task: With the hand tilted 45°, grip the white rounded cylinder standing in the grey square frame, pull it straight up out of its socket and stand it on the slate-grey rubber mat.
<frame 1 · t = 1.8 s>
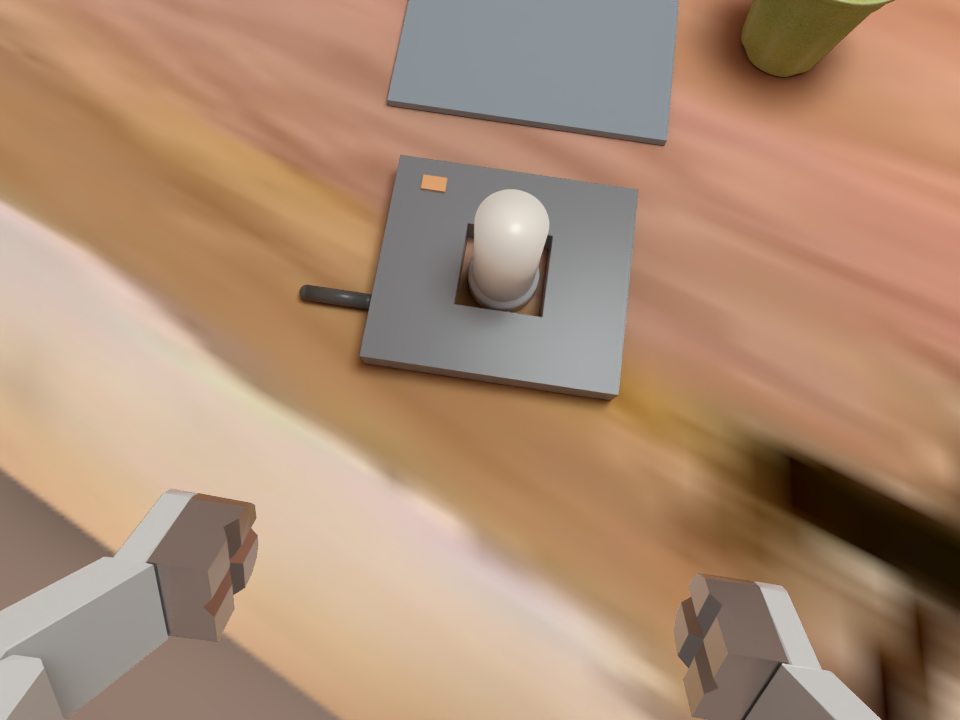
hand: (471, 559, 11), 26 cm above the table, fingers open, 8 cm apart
plant pot: (778, 46, 45), on the table
grey square frame: (502, 280, 40), on the table
rubber mat: (536, 55, 44), on the table
white rounded cylinder: (502, 280, 40), resting in grey square frame
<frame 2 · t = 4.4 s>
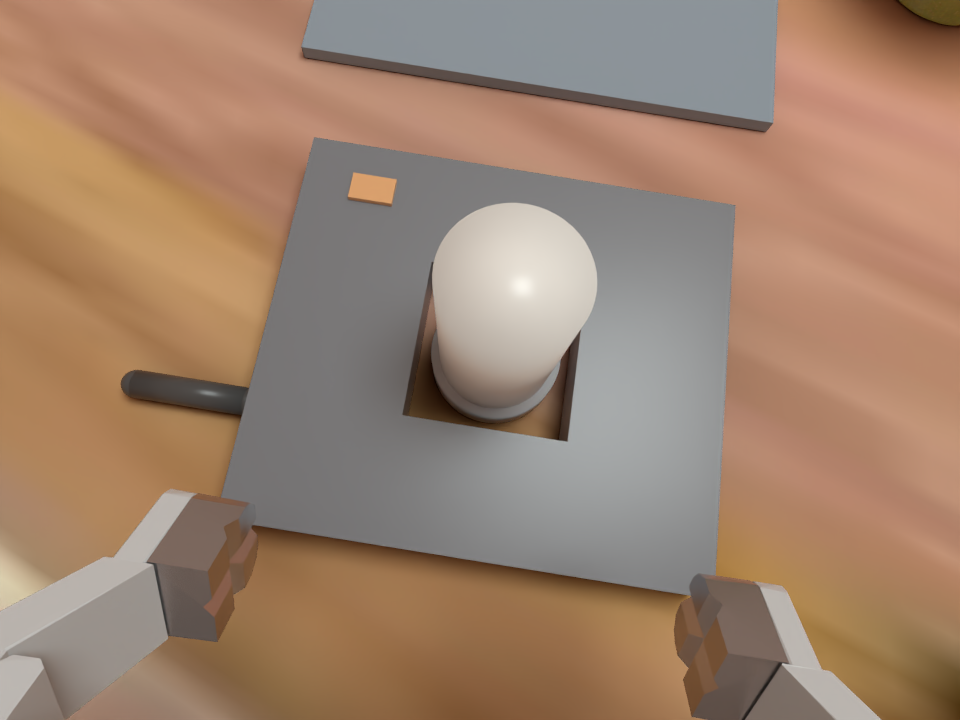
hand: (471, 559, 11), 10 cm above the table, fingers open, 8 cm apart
grey square frame: (493, 362, 23), on the table
white rounded cylinder: (493, 362, 23), resting in grey square frame
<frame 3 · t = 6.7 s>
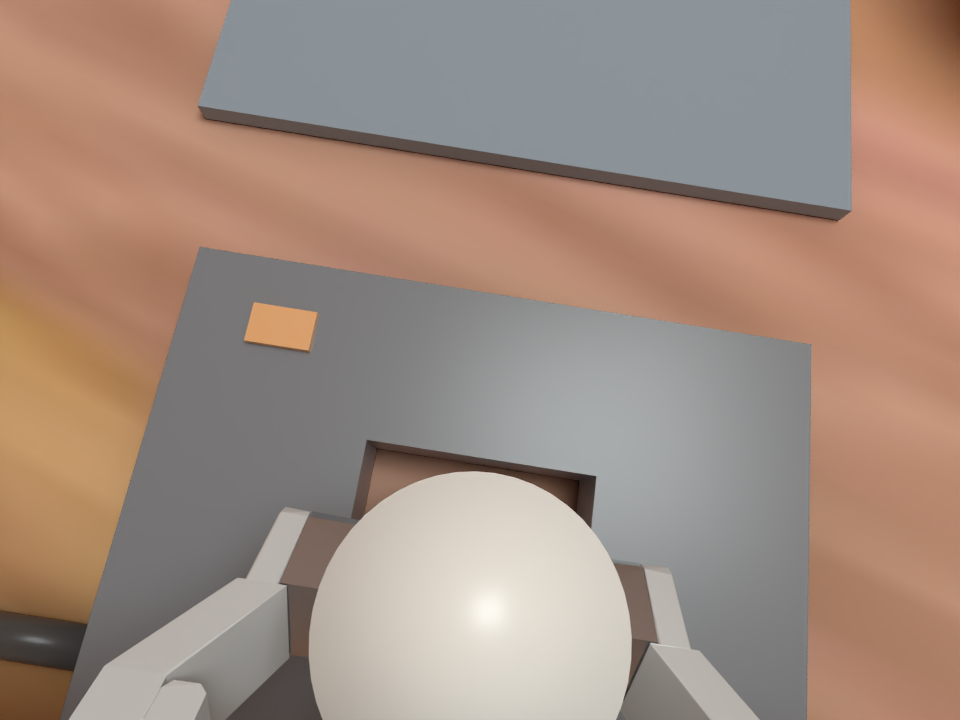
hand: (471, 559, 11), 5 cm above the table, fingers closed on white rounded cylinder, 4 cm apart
grey square frame: (462, 571, 16), on the table
rubber mat: (546, 13, 20), on the table
white rounded cylinder: (462, 571, 16), resting in grey square frame, touching gripper
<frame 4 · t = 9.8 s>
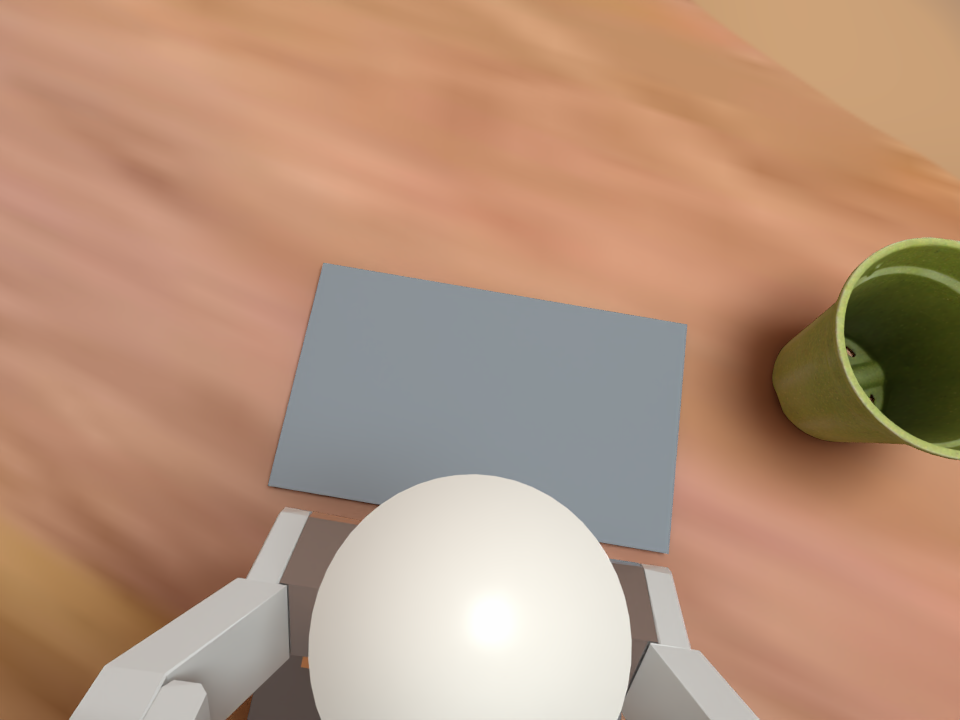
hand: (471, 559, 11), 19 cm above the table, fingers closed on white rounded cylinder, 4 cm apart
plant pot: (822, 388, 33), on the table
rubber mat: (486, 403, 32), on the table
white rounded cylinder: (462, 572, 16), point 15 cm above the table, touching gripper
when the fingers open (7 cm above the table, at t = 13.2 s): white rounded cylinder drops 1 cm, resting on rubber mat.
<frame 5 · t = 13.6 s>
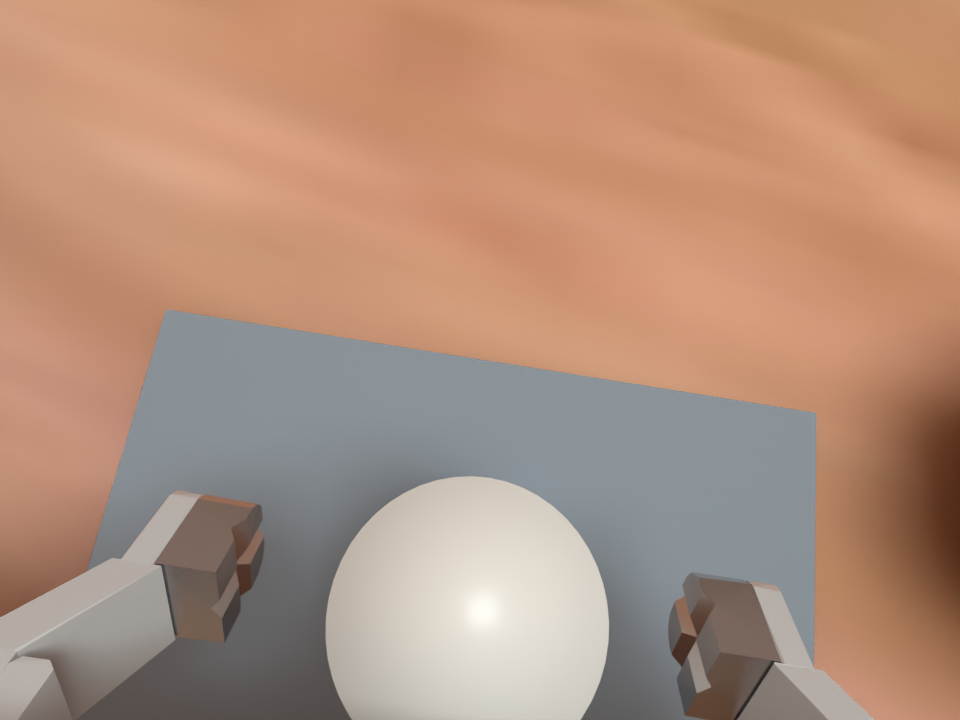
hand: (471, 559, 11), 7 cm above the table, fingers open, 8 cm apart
rubber mat: (460, 565, 17), on the table
white rounded cylinder: (460, 567, 17), point 1 cm above the table, touching rubber mat
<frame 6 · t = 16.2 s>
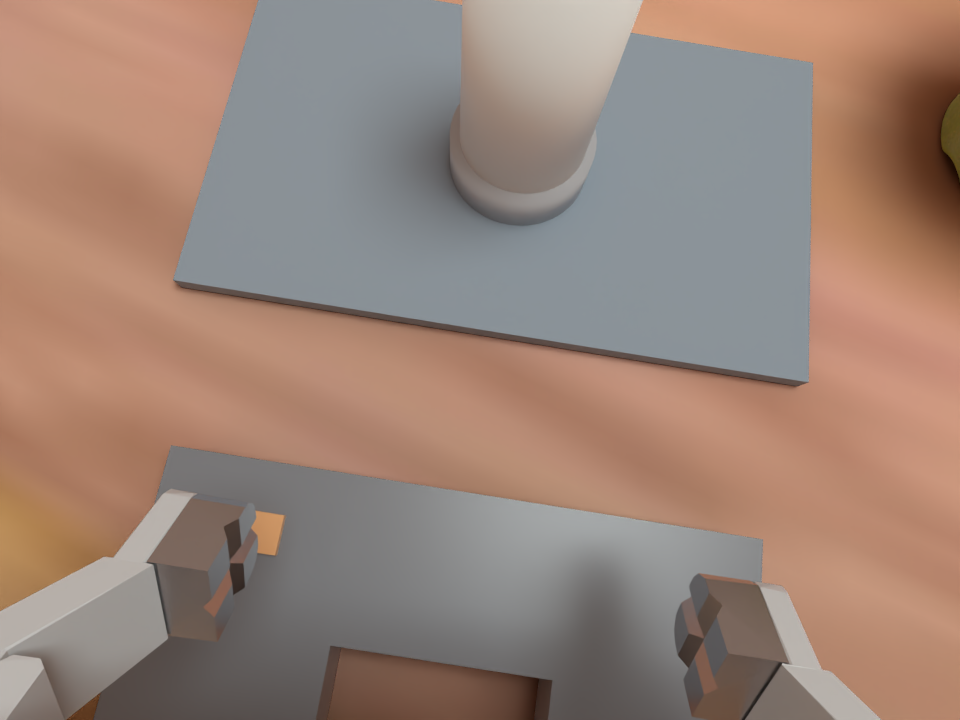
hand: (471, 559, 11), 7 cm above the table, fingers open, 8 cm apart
rubber mat: (516, 172, 21), on the table
white rounded cylinder: (518, 163, 20), point 1 cm above the table, touching rubber mat
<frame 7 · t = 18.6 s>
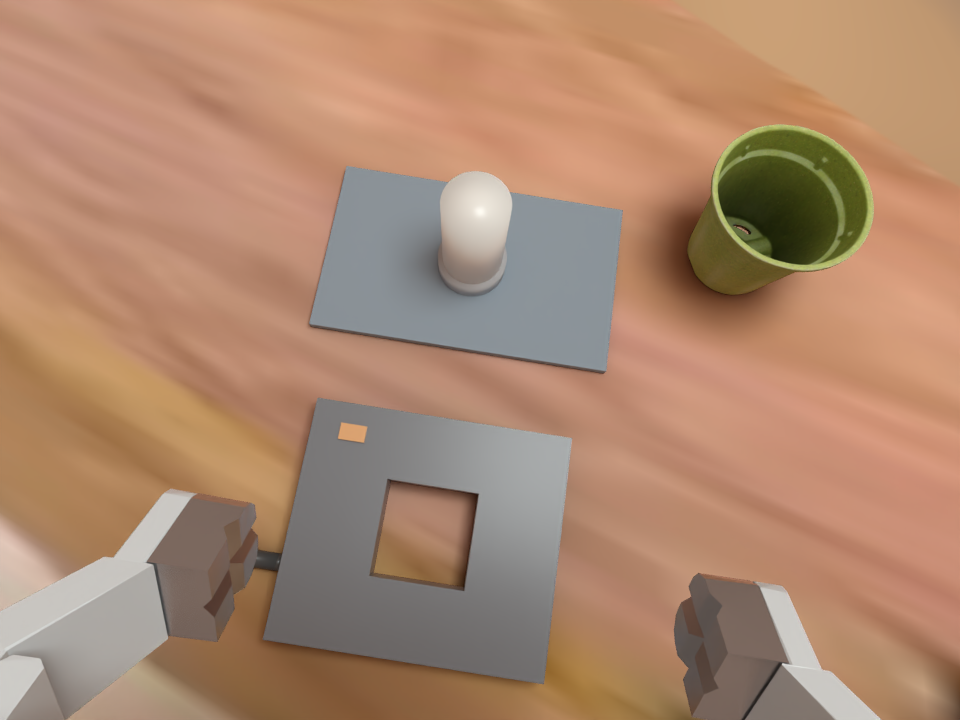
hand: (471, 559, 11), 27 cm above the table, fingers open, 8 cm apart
plant pot: (726, 258, 43), on the table
grey square frame: (426, 532, 37), on the table
rubber mat: (471, 268, 42), on the table
white rounded cylinder: (471, 265, 41), point 1 cm above the table, touching rubber mat
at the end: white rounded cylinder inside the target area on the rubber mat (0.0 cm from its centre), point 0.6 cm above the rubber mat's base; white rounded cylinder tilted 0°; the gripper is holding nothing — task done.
